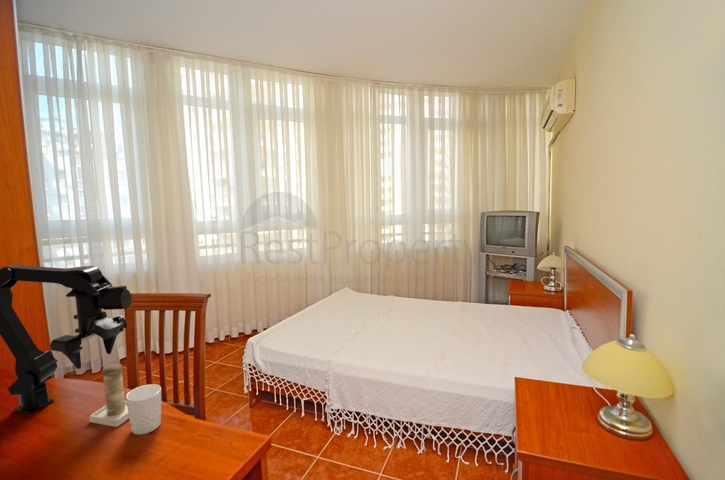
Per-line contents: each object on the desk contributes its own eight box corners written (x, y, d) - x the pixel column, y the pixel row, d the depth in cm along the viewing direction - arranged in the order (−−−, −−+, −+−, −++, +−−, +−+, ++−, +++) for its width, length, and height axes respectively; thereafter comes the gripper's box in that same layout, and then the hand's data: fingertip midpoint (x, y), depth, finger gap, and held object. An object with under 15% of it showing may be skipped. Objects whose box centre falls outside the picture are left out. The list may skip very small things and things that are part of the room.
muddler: (102, 417, 94) (98, 372, 93) (112, 406, 99) (108, 364, 97) (120, 415, 95) (116, 371, 93) (129, 405, 100) (125, 363, 98)
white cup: (169, 418, 96) (167, 384, 95) (149, 437, 88) (147, 401, 87) (143, 416, 97) (141, 383, 96) (121, 435, 89) (118, 399, 88)
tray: (89, 421, 94) (89, 415, 94) (116, 404, 102) (115, 399, 102) (116, 426, 92) (116, 420, 92) (141, 409, 100) (141, 403, 100)
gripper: (79, 324, 89) (85, 380, 91) (139, 302, 107) (143, 349, 109) (45, 320, 91) (52, 375, 93) (110, 300, 109) (114, 346, 111)
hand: (94, 360), depth 102 cm, fingers open, 9 cm apart
